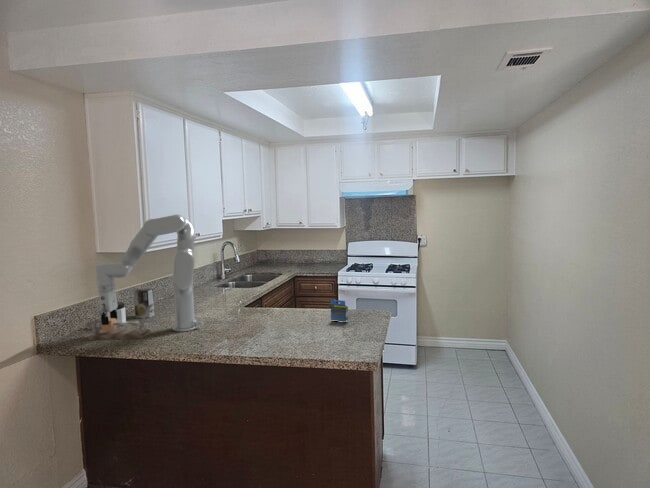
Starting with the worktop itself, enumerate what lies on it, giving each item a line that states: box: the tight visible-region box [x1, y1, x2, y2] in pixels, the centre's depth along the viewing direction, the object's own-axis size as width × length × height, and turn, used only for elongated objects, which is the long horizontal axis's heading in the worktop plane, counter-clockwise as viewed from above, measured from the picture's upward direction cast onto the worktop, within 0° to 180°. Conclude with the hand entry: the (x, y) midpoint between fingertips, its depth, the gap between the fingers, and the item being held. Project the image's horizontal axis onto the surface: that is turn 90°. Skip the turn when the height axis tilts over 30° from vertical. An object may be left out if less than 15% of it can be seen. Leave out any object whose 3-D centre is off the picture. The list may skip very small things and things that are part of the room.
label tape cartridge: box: [330, 299, 349, 321], centre depth 229 cm, size 9×4×12 cm, turn 65°
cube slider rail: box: [86, 318, 151, 341], centre depth 211 cm, size 28×10×8 cm, turn 94°
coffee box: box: [133, 288, 156, 319], centre depth 248 cm, size 9×6×16 cm
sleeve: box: [100, 318, 117, 331], centre depth 210 cm, size 5×5×5 cm
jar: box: [107, 301, 127, 328], centre depth 231 cm, size 9×8×12 cm
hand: (109, 321), depth 210 cm, fingers open, 9 cm apart
